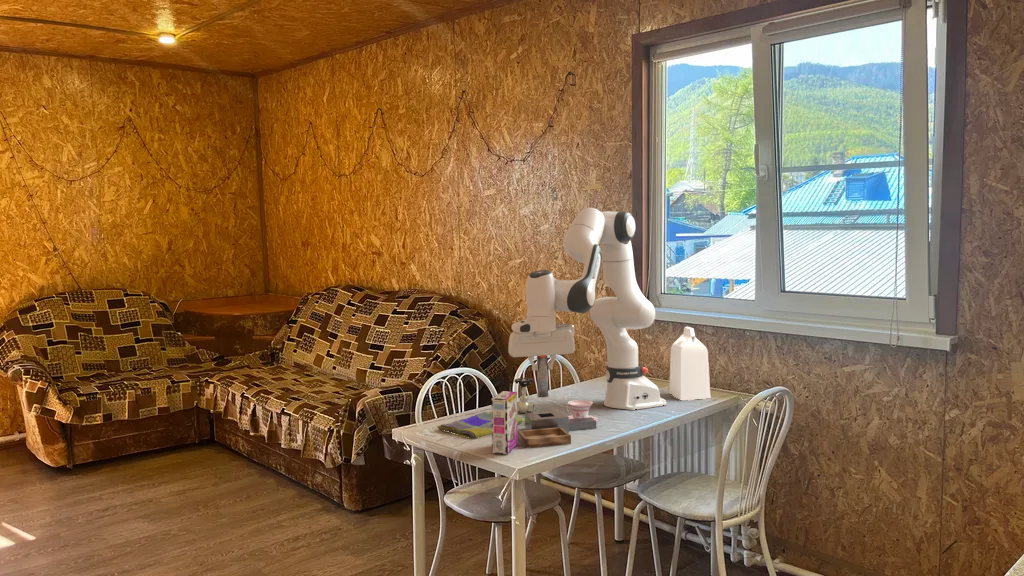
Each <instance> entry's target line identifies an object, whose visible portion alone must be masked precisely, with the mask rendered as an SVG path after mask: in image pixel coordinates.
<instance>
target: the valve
mask: <svg viewBox="0 0 1024 576" xmlns="http://www.w3.org/2000/svg"><path fill="white" fill-rule="evenodd" d="M513 381H514V383H515V384H516V385H517V384H519V386H520V387H521V388H522V389H521V390H520V391H521V396H519V401H517V413H522V414H525V413H535V402H534V401H529V396H527V387H528V386H530V384H531V383H534V379H533V378H531V377H529V378H527V377H523V378H521V377H518V378H517V379H516V378H514V379H513Z"/></svg>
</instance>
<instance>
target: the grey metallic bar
mask: <svg viewBox="0 0 1024 576" xmlns="http://www.w3.org/2000/svg"><path fill="white" fill-rule="evenodd" d="M548 360H549V359H548V355H541V356H536V364H537V365H538V371H536V372H537V373H536V375H537V376H536V378H537V379H536V380H537V397H538V398H549V375H548V374H549V370H548V363H549V362H548Z"/></svg>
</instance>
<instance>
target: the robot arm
mask: <svg viewBox="0 0 1024 576" xmlns="http://www.w3.org/2000/svg"><path fill="white" fill-rule="evenodd" d="M636 228H637V227H636V220H635V218H634V216H633V215H632V214H631V213H630V212H628V211H623V210H621V211H620V210H619V211H608V210H607V211H600V210H599V209H597V208H595V207H585V208H583V209H582V210H580V211H579V212H578V214H577V215H576V216H575V218H574V219H573V220H572V222H571V223H570V225H569V227H568V229H567V231H566V234H565V235H564V239H563V248H564V250H565V253H567V255H568V256H569V257H570V258H572V259H573V260H574V261H576V262H579V263H581V264H584V266H583V270H582V274H581V277H579V278H577V279H574V280H573V279H572V280H571V279H565V280H563V279H558V278H555V277H554V275H553V272H552V271H551V270H547V269H541V270H540V269H539V270H534V271H532V272H530V273H529V274H528V275H527V279H526V285H525V302H526V305H527V311H526V318H525V319H522V320H519V321H517V322H514V323H512V324H511V330H512V332H511V333H510V335H509V338H508V346H507V347H508V351H507V353H508V354H509V356H510V357H512V358H524V357H527V359H528V361H529V363H530V364H531V370H532V371H534V372H537V371H538V365H537V363H535V361H534V360H535V357H537V356H541V355H547V356H549V358H550V360H549V362H548V371H550V370H553V367H554V363H555V361H556V359H557V355H570V354H574V352H575V351H576V345H575V338H574V336H575V331H576V330H575V327H574V325H573V324H572V323H571V324H570V323H568V322H566V323H557V315H556V314H557V313H556V312H571V313H577V314H586V313H587V312H589V315H590V318H591V320H592V321H593V323H594V324H595V325H596V326H597V327H598V328H599V329H600V331H601V334H602V335H603V338H604V341H605V347H606V358H607V359H606V360H607V365H606V370H605V379H606V390H605V397H604V402H603V405H604V406H605V407H607V408H613V409H621V410H622V409H623V410H629V411H635V409H637V410H642V409H650V408H655V407H656V408H657V407H664V406H667V404H668V403H667V400H666V399H664V398H662V397H661V395H660V389H659V387H658V386H657V385H656V384H655V383H654V382H653V381H651V380H650V379H649V378H647V377H646V376H644V374H648V372H649V369H648V368H647V367H645V366H644V367H642V366H641V365H639V347H638V344H637V342H636V341H635V340H634V339H633V338H632V337H630V335H629V333H628V331H627V329H629V330H631V329H632V330H642V329H646V328H650V327H651V326H652V325H653V323H654V322H655V318H656V309H655V306H654V304H653V303H652V302H651V301H650V300H648V299H647V297H645V295H644V294H643V293H642V291H641V289H640V287H639V285H638V282H637V278H636V272H635V265H634V264H635V262H634V253H633V247H632V242H631V241H632V239H633V238H634V236H635V235H636V234H635V233H636ZM600 245H601V246H600ZM601 269H602V275H603V277H602V278H603V281H604V284H605V285H606V286H608V287H609V288H610V289H611V290H612V291H613V292H614V294H615V296H603V297H599V298H596V292H597V285H598V282H599V276H600V273H601V272H600V271H601ZM663 405H664V406H663Z"/></svg>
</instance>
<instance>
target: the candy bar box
mask: <svg viewBox="0 0 1024 576" xmlns="http://www.w3.org/2000/svg"><path fill="white" fill-rule="evenodd" d="M517 402H518V391H512V390H511V391H509V390H507V391H506V390H505V391H504V390H503V391H501V392H499V393H498V394H496V395H495V396H493V397H492V398H491V414H492V434H491V450H492V452H491V454H492V455H493V454H494V455H502V454H503V455H507V456H508V455H509V453H510V452H512V450H513V449H514V448H516V447H517V446H518V443H519V440H518V431H519V430H518V429H519V428H518V427H519V426H518V425H519V424H518V421H517V418H518V412H517Z"/></svg>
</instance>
